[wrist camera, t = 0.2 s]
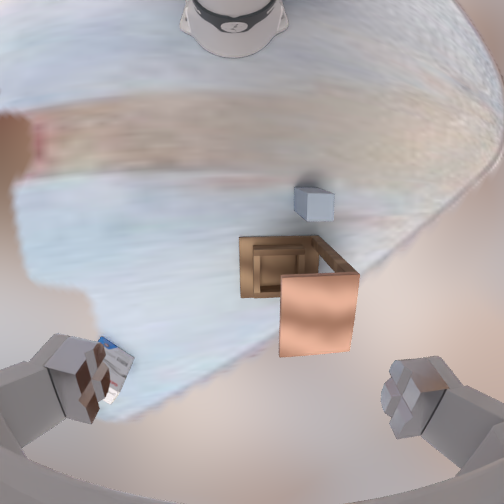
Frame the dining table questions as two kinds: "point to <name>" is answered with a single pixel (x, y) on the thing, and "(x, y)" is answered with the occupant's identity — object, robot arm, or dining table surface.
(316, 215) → the peg
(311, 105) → the dining table surface
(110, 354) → the ink box
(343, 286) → the wooden frame stand
